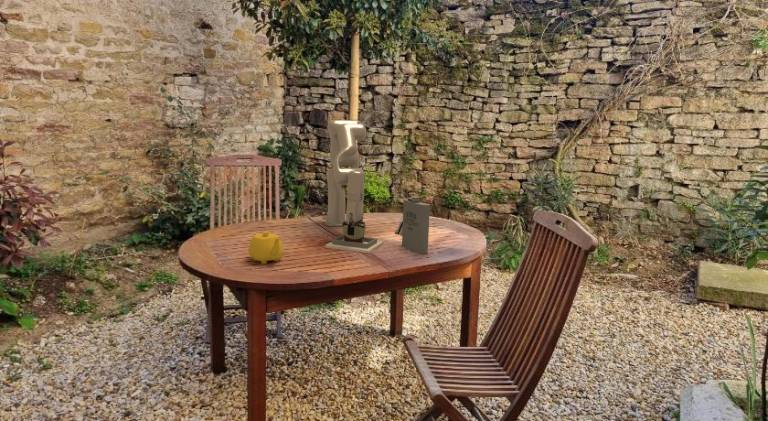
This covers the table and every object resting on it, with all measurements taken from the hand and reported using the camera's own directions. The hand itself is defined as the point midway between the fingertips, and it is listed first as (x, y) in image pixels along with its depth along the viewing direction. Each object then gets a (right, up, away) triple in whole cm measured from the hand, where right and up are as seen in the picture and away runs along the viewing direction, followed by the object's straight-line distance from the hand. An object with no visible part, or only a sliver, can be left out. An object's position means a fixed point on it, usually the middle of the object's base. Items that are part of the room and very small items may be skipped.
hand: (355, 232), depth 236 cm
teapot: (-35, -11, -26) cm, 45 cm away
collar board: (0, -6, +1) cm, 6 cm away
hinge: (+28, -2, +30) cm, 41 cm away
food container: (0, -5, +3) cm, 5 cm away
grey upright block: (+28, -8, -2) cm, 29 cm away
